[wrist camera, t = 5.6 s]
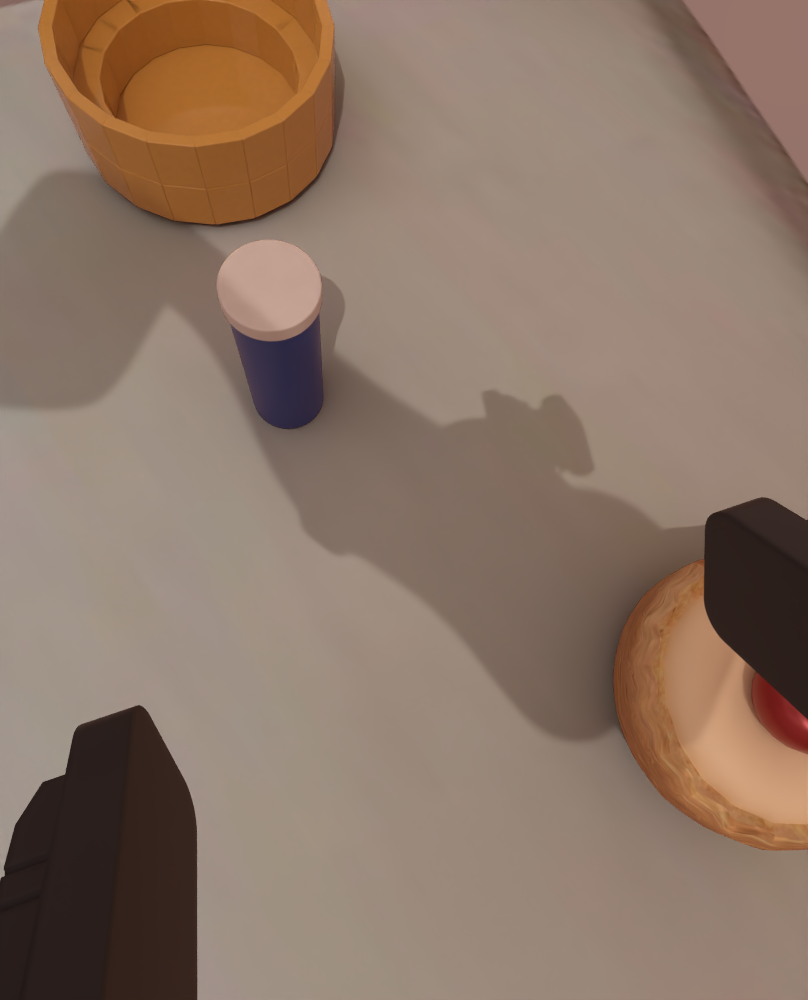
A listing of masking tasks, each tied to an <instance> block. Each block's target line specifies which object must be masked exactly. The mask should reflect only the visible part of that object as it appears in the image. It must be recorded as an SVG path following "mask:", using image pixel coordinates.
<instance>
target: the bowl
mask: <svg viewBox="0 0 808 1000" xmlns="http://www.w3.org/2000/svg"><path fill="white" fill-rule="evenodd" d="M38 30H39V35H40V41H41V46H42V52H43V57H44V62H45V65H46V67H47V70H48V72H49V74H50V76H51V78H52V80H53V82H54V84H55V86H56V89H57V91H58V93H59V95H60V97H61V99H62V101H63V103H64V105H65V108H66V110H67V112H68V113H69V116H70V118H71V120H72V122H73V124H74V126H75V129H76V131H77V133H78V135H79V137H80V139H81V141H82V143H83V145H84V148H85V150H86V152H87V154H88V155H89V157H90V158H91V160H92V162H93V163H94V165H95V166H96V168H97V169H98V171H99V172H100V174H101V176H102V177H103V179H104V180H105V181H106V182H107V183H108V184H109V185H110V186H111V187H113V188H114V189H115V190H117V191H118V192H119V193H120V194H122V195H123V196H124V197H125V198H127V199H128V200H129V201H131V202H132V203H133V204H134V205H136V206H137V207H139V208H142V209H145V210H147V211H150V212H152V213H155V214H157V215H160V216H163V217H165V218H168V219H170V220H173V221H174V220H175V221H183V222H193V223H203V224H213V225H214V224H215V223H216V224H217V225H218V224H223V223H229V222H235V221H241V220H247V219H252V218H255V217H259V216H261V215H263V214H265V213H267V212H269V211H271V210H273V209H275V208H277V207H279V206H281V205H284V204H286V203H288V202H290V200H293V199H294V198H295V197H296V196H297V195H298V194H299V193H300V192H301V191H302V190H303V189H304V188H305V187H306V186H307V185H308V184H309V183H310V182H311V181H313V180H314V179H315V178H316V176H317V175H318V173H319V171H320V169H321V167H322V165H323V163H324V161H325V159H326V157H327V155H328V153H329V151H330V149H331V147H332V143H333V131H334V120H335V37H334V23H333V20H332V16H331V13H330V10H329V7H328V3H327V0H44V4H43V8H42V13H41V17H40V21H39V25H38Z"/></svg>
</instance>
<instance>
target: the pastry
mask: <svg viewBox="0 0 808 1000" xmlns="http://www.w3.org/2000/svg"><path fill="white" fill-rule="evenodd" d="M613 691H614V698H615V705H616V711H617V715H618V718H619V722H620V725H621V729H622V732H623V734H624V736H625V739H626V741H627V743H628V745H629V748H630V750H631V752H632V754H633V756H634V758H635V759H636V761H637V762H638V764H639V766H640V767H641V769H642V770H643V771H644V773H645V774H646V776H647V777H648V779H649V780H650V781H651V783H652V784H653V785H654V787H655V788H656V789H657V790H658V792H659V793H660V794H661V795H662V796H663V797H664V798H665V799H666V800H668V801H669V802H670V803H671V804H672V805H673V806H675V807H676V808H677V809H679V810H680V811H681V812H683V813H684V814H686V815H687V816H689V817H690V818H692V819H693V820H695V821H696V822H698V823H699V824H701V825H702V826H704V827H706V828H708V829H710V830H712V831H714V832H716V833H719V834H721V835H724V836H726V837H729V838H731V839H734V840H736V841H739V842H741V843H744V844H747V845H749V846H752V847H755V848H758V849H762V850H804V849H808V720H807V719H806V718H805V717H804V716H803V715H802V714H801V713H800V712H799V711H798V710H797V709H796V708H795V707H794V706H792V705H791V704H790V703H789V702H788V701H787V700H786V699H785V698H784V697H783V696H782V695H781V694H780V693H778V692H777V691H776V690H775V689H774V688H773V687H772V686H771V685H770V684H769V683H768V682H767V681H766V680H765V679H763V678H762V677H761V676H760V675H759V674H758V673H757V672H756V671H755V670H754V669H753V668H752V667H751V666H749V665H748V664H747V663H746V662H745V661H744V660H743V659H742V658H741V657H740V656H739V655H738V654H737V653H736V652H734V651H733V650H732V649H731V648H730V647H729V646H728V645H727V644H726V643H725V642H724V641H723V640H722V639H721V638H720V637H719V635H718V634H717V633H716V631H715V630H714V628H713V626H712V625H711V623H710V621H709V618H708V616H707V613H706V610H705V605H704V559H702V560H699V561H696V562H693V563H691V564H689V565H687V566H685V567H683V568H681V569H680V570H678V571H676V572H674V573H672V574H670V575H669V576H667V577H666V578H664V579H663V580H661V581H660V582H659V583H657V584H656V585H655V586H654V587H653V588H652V589H651V590H649V591H648V592H647V593H646V594H645V595H644V596H643V597H642V599H641V600H640V601H639V602H638V604H637V605H636V607H635V609H634V610H633V612H632V613H631V615H630V616H629V618H628V620H627V622H626V624H625V626H624V628H623V631H622V634H621V638H620V641H619V644H618V648H617V651H616V658H615V664H614V677H613Z"/></svg>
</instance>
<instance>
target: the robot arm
mask: <svg viewBox="0 0 808 1000" xmlns="http://www.w3.org/2000/svg"><path fill="white" fill-rule="evenodd" d="M704 605H705V610H706V613H707V616H708V618H709V621H710V623H711V625H712V626H713V628H714V630H715V631H716V633H717V634H718V635H719V637H720V638H721V639H722V640H723V641H724V642H725V643H726V644H727V645H728V646H729V647H730V648H731V649H732V650H733V651H734V652H736V653H737V654H738V655H739V656H740V657H741V658H742V659H743V660H744V661H745V662H746V663H747V664H748V665H749V666H751V667H752V668H753V669H754V670H755V671H756V672H757V673H758V674H759V675H760V676H761V677H762V678H763V679H765V680H766V681H767V682H768V683H769V684H770V685H771V686H772V687H773V688H774V689H775V690H776V691H777V692H778V693H780V694H781V695H782V696H783V697H784V698H785V699H786V700H787V701H788V702H789V703H790V704H791V705H792V706H794V707H795V708H796V709H797V710H798V711H799V712H800V713H801V714H802V715H803V716H804V717H805V718H806V719H807V720H808V520H805V519H803V518H802V517H800V516H799V515H797V514H795V513H794V512H792V511H790V510H789V509H787V508H785V507H784V506H782V505H780V504H779V503H777V502H775V501H774V500H772V499H769V498H763V497H761V498H757V499H754V500H751V501H748V502H745V503H742V504H739V505H736V506H733V507H730V508H727V509H724V510H722V511H719V512H716V513H713V514H711V515H710V516H709V517H708V519H707V521H706V525H705V555H704ZM4 870H5V876H4V877H2V878H1V880H0V1000H197V825H196V817H195V811H194V806H193V802H192V798H191V795H190V792H189V789H188V787H187V784H186V782H185V780H184V778H183V776H182V774H181V772H180V771H179V769H178V767H177V765H176V763H175V761H174V759H173V758H172V756H171V754H170V752H169V750H168V748H167V746H166V745H165V743H164V741H163V739H162V737H161V735H160V733H159V732H158V730H157V728H156V726H155V724H154V722H153V721H152V719H151V717H150V715H149V713H148V712H147V711H146V709H145V708H144V707H142V706H140V705H138V706H135V707H132V708H129V709H126V710H123V711H120V712H117V713H114V714H111V715H108V716H105V717H102V718H99V719H96V720H93V721H90V722H87V723H84V724H81V725H79V726H78V727H77V728H76V730H75V732H74V735H73V739H72V744H71V749H70V754H69V759H68V763H67V768H66V773H65V775H62V776H59V777H57V778H54V779H51V780H48V781H45V782H43V783H42V784H41V786H40V787H39V789H38V790H37V792H36V794H35V795H34V797H33V798H32V800H31V801H30V803H29V804H28V806H27V808H26V809H25V811H24V812H23V814H22V815H21V817H20V818H19V820H18V822H17V823H16V825H15V828H14V832H13V835H12V839H11V843H10V847H9V850H8V854H7V858H6V862H5V865H4Z"/></svg>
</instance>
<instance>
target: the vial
mask: <svg viewBox="0 0 808 1000" xmlns="http://www.w3.org/2000/svg"><path fill="white" fill-rule="evenodd" d="M216 288H217V295H218V299H219V302H220V305H221V308H222V311H223V313H224V315H225V317H226V319H227V320H228V321H229V323H230V324H231V327H232V331H233V334H234V337H235V341H236V344H237V347H238V351H239V354H240V357H241V361H242V364H243V368H244V371H245V374H246V378H247V381H248V384H249V388H250V391H251V394H252V398H253V401H254V404H255V407H256V410H257V412H258V413H259V415H260V416H261V417H262V418H263V419H264V420H265V421H266V422H268V423H269V424H271V425H273V426H276V427H279V428H285V429H291V428H298V427H301V426H303V425H306V424H307V423H309V422H310V421H312V420H313V419H314V418H315V417H316V416H317V414H318V413H319V411H320V409H321V407H322V403H323V380H322V361H321V341H320V321H319V311H320V308H321V304H322V280H321V276H320V273H319V270H318V268H317V266H316V264H315V263H314V262H313V260H312V259H311V258H310V257H309V256H308V255H307V254H306V253H305V252H304V251H302V250H301V249H300V248H298V247H296V246H294V245H292V244H290V243H287V242H284V241H279V240H258V241H254V242H250V243H248V244H245V245H243V246H241V247H239V248H238V249H236V250H235V251H233V252H232V253H231V254H230V255H229V256H228V257H227V259H226V260H225V261H224V263H223V264H222V266H221V268H220V270H219V273H218V277H217V283H216Z"/></svg>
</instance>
